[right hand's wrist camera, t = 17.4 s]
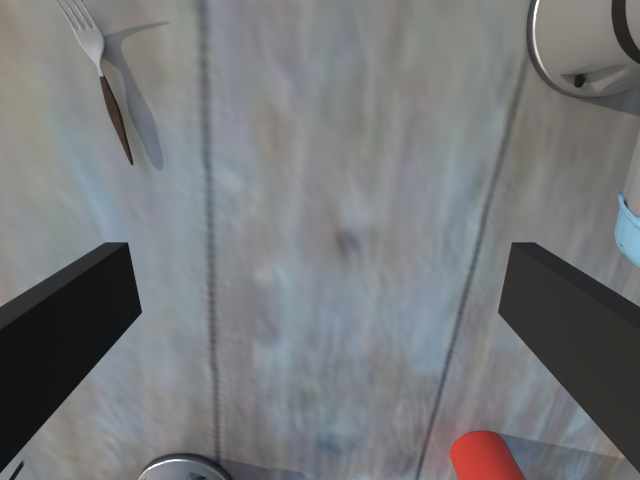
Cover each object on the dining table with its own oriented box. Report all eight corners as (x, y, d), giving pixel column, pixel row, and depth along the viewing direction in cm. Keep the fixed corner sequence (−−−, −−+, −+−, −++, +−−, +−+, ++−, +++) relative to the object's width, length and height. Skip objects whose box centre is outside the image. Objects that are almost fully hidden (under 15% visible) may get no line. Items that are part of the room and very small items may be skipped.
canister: (453, 474, 57) (475, 535, 49) (447, 436, 54) (470, 493, 46) (507, 465, 56) (538, 525, 48) (504, 426, 54) (537, 482, 45)
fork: (123, 166, 40) (113, 169, 38) (66, 2, 34) (51, -4, 32) (145, 162, 39) (137, 165, 38) (91, -3, 34) (78, -9, 32)
